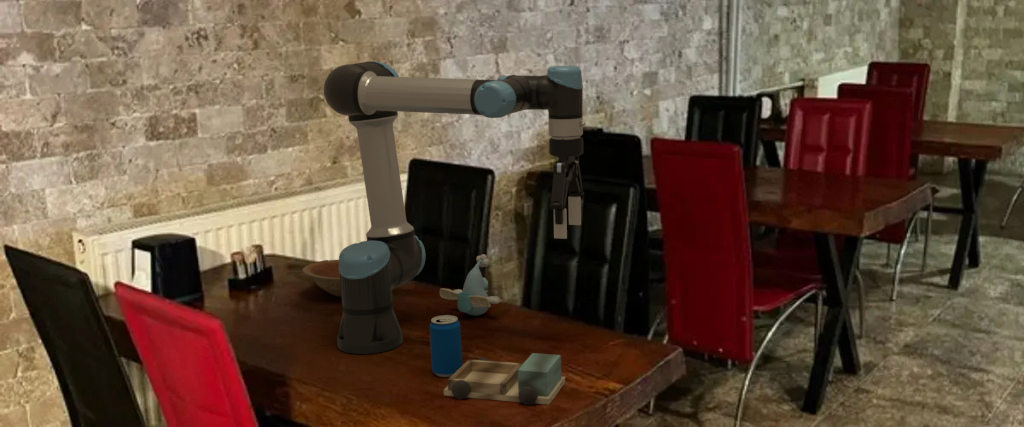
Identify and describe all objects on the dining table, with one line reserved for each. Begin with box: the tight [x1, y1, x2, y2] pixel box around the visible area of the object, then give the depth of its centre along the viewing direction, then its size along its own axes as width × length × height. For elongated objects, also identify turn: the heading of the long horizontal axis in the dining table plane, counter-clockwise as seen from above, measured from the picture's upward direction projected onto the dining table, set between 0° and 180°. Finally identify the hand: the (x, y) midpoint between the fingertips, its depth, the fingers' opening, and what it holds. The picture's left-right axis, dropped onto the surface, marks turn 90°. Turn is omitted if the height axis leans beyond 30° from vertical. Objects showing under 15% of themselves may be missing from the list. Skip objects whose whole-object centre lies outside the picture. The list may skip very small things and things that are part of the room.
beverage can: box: [428, 314, 463, 378], centre depth 212 cm, size 6×6×12 cm
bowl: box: [302, 259, 342, 298], centre depth 276 cm, size 24×24×8 cm
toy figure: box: [439, 253, 502, 317], centre depth 251 cm, size 17×10×15 cm, turn 50°
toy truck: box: [443, 352, 566, 406], centre depth 202 cm, size 22×14×6 cm, turn 72°
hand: (567, 231), depth 223 cm, fingers open, 13 cm apart
